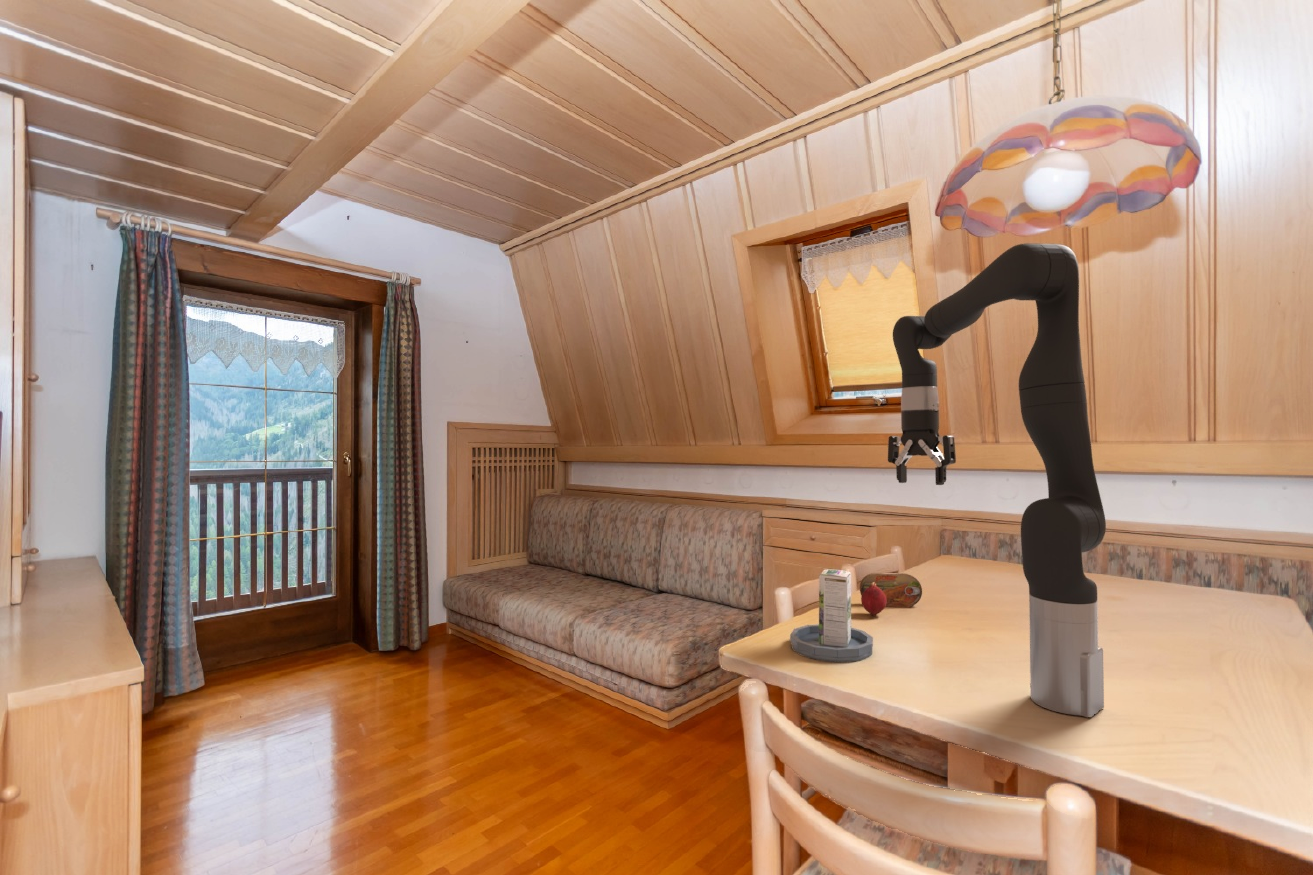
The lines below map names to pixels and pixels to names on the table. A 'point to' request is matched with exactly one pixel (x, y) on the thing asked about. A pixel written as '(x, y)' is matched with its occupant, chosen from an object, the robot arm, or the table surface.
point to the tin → (895, 588)
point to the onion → (873, 599)
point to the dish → (808, 646)
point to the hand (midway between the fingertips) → (920, 483)
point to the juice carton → (835, 608)
